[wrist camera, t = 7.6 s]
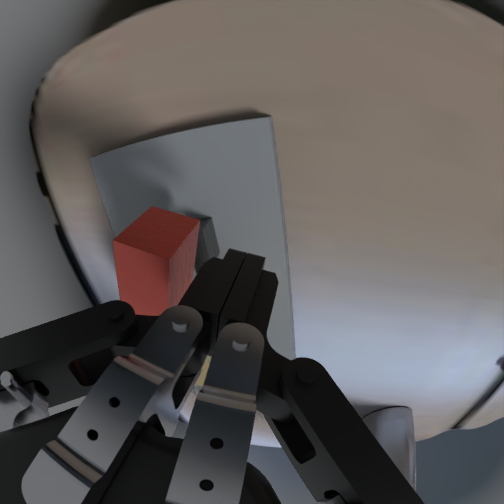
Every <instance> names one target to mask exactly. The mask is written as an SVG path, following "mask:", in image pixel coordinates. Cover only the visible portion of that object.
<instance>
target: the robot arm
mask: <svg viewBox="0 0 504 504" xmlns="http://www.w3.org/2000/svg"><path fill="white" fill-rule="evenodd" d="M265 260H266V257H263V256H259V255H255V254H251V253H248V254H247V252H243V251H239V250H235V249H231V248H229V249H228V251H227V253H226V254H225V256H224V258H223V259H220V258H216V257H213V258H211V259H209V260H208V261H206V262H205V263H204V264H203V265H202V267H201V268H200V270H199V272H198V273H197V275H196V276H195V278H194V280H193V281H192V283H191V284H190V286H189V287H188V289H187V291H186V292H185V294H184V295H183V297H182V299H181V300H180V302H179V303H178V305H177V306H172V307H170V308H168V309H166V310H165V311H163V313H162V314H161V315H158V316H150V315H137V314H135V311H134V309H133V307H132V306H131V305H130V304H129V303H127V302H124V301H120V300H114V301H109V302H106V303H103V304H100V305H97V306H94V307H91V308H88V309H85V310H83V311H80V312H77V313H74V314H71V315H68V316H65V317H62V318H59V319H56V320H53V321H50V322H47V323H44V324H41V325H39V326H36V327H32V328H29V329H26V330H23V331H20V332H18V333H15V334H12V335H9V336H6V337H3V338H0V504H281V502H280V500H279V499H278V497H277V495H276V493H275V492H274V490H273V488H272V486H271V484H270V483H269V481H268V480H267V479H266V477H265V476H264V475H263V474H262V473H261V472H260V471H259V470H258V469H257V468H255V467H254V466H253V465H252V464H250V463H249V462H247V459H248V454H249V448H250V443H251V437H252V431H253V426H254V420H255V414H256V410H258V411H260V412H262V413H263V414H264V417H265V419H266V421H267V422H268V424H269V426H270V428H271V429H272V431H273V433H274V435H275V436H276V438H277V440H278V441H279V443H280V445H281V446H282V448H283V450H284V451H285V453H286V455H287V456H288V458H289V460H290V461H291V463H292V464H293V466H294V468H295V469H296V471H297V472H298V474H299V476H300V477H301V479H302V480H303V482H304V483H305V485H306V486H307V488H308V489H309V491H310V492H311V494H312V495H313V497H314V498H315V500H316V501H317V503H315V504H424V503H423V501H422V500H421V498H420V497H419V496H418V494H417V493H416V455H415V436H414V423H413V414H412V410H411V409H409V408H406V407H394V408H388V409H383V410H379V411H376V412H374V413H371V414H369V415H367V416H366V417H364V418H363V419H361V418H360V416H359V415H358V414H357V412H356V411H355V409H354V408H353V407H352V405H351V404H350V403H349V401H348V400H347V398H346V397H345V396H344V394H343V393H342V392H341V390H340V389H339V387H338V386H337V385H336V383H335V382H334V381H333V379H332V378H331V376H330V375H329V374H328V372H327V371H326V369H325V368H324V367H323V366H322V365H321V364H320V363H318V362H317V361H315V360H313V359H310V358H302V357H301V358H296V359H293V360H289V359H288V358H286V357H284V356H282V355H280V354H279V353H277V352H276V351H275V350H274V349H273V348H272V347H271V345H270V344H269V342H268V339H267V329H268V325H269V321H270V317H271V313H272V309H273V305H274V301H275V297H276V292H277V288H278V284H279V282H278V279H277V276H276V273H274V272H270V271H266V270H263V269H264V265H265ZM207 355H208V356H211V357H212V358H211V361H210V364H209V368H208V371H207V374H206V377H205V381H204V384H203V387H202V389H201V390H200V391H199V392H198V395H197V397H196V400H195V403H194V407H193V410H192V413H191V416H190V420H189V423H188V426H187V430H186V433H185V436H184V439H180V438H173V437H171V435H172V434H173V432H174V430H175V427H176V425H177V421H178V417H179V414H180V411H181V409H182V407H183V406H184V404H185V402H186V400H187V398H188V396H189V394H190V393H191V391H192V389H193V387H194V385H195V383H196V381H197V379H198V378H199V376H200V374H201V371H202V366H203V364H204V362H205V359H206V357H207ZM85 395H87V396H86V397H85V398H84V400H83V401H82V402H81V404H80V405H79V406H77V407H73V408H71V409H68V410H65V411H63V412H60V413H57V414H54V415H52V416H49V412H48V408H50V407H53V406H56V405H59V404H62V403H65V402H68V401H71V400H74V399H77V398H80V397H82V396H85Z"/></svg>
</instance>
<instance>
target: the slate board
mask: <svg viewBox="0 0 504 504" xmlns="http://www.w3.org/2000/svg"><path fill="white" fill-rule="evenodd" d="M90 162H91V166H92V169H93V173H94V176H95V179H96V183H97V186H98V189H99V192H100V195H101V198H102V201H103V204H104V207H105V210H106V213H107V216H108V218H109V221H110V224H111V227H112V229H113V232H114V235H115V237H117V236H118V235H119V234H120V232H122V231H123V230H124V229H125V228H126V227H128V226H129V225H130V224H132V223H133V222H134V221H135V220H136V219H137V218H138V217H140V216H141V215H142V214H143V213H144V212H145V211H147V210H148V209H149V208H150V207H151V206H153V207H157V208H160V209H164V210H167V211H175V212H181V213H184V214H185V215H186V216H188V217H192V218H195V219H196V218H210V217H212V220H213V224H214V229H215V233H216V237H217V241H218V245H219V250H220V254H219V256H218V257H217V258H220V259H223V258H224V256H225V254H226V253H227V251H228V249H229V248H231V249H235V250H239V251H243V252H247V254H248V253H251V254H255V255H259V256H263V257H266V260H265V265H264V269H263V270H266V271H270V272H274V273H276V276H277V279H278V282H279V284H278V288H277V292H276V297H275V301H274V305H273V309H272V313H271V317H270V321H269V325H268V329H267V339H268V342H269V344H270V345H271V347H272V348H273V349H274V350H275V351H276V352H277V353H279V354H280V355H282V356H284V357H286V358H288V359H289V360H293V359H296V355H295V338H294V323H293V309H292V295H291V283H290V271H289V260H288V249H287V239H286V229H285V219H284V210H283V201H282V192H281V183H280V175H279V167H278V159H277V151H276V144H275V136H274V129H273V122H272V116H266V117H257V118H250V119H242V120H236V121H229V122H223V123H217V124H212V125H206V126H201V127H196V128H191V129H187V130H182V131H178V132H174V133H169V134H165V135H161V136H157V137H154V138H150V139H146V140H143V141H139V142H136V143H132V144H129V145H126V146H122V147H119V148H116V149H113V150H110V151H107V152H104V153H101V154H99V155H96V156H94V157H92V158H90ZM195 268H201V267H195Z"/></svg>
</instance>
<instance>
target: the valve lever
mask: <svg viewBox="0 0 504 504" xmlns="http://www.w3.org/2000/svg"><path fill="white" fill-rule="evenodd" d="M199 226H200V220H198V219H195V218H192V217H188V216H185V215H181V214H178V213H174V212H171V211H167V210H164V209H160V208H157V207H153V206H151V207H150V208H149V209H148V210H147V211H145V212H144V213H143V214H142V215H141V216H140V217H138V218H137V219H136V220H135V221H134V222H133V223H132V224H130V225H129V226H128V227H127V228H126V229H125V230H124V231H123V232H121V233H120V234H119V235H118V236H117V237H116V238H115V239H114V240H113V247H114V257H115V266H116V274H117V281H118V288H119V295H120V301H124V302H127V303H129V304H130V305H131V306H132V307H133V309H134V311H135V314H137V315H150V316H158V315H161V314H162V313H163V311H165V310H166V309H168V308H170V307H172V306H177V305H178V303H179V302H180V300H181V299H182V297H183V295H184V294H185V292H186V291H187V289H188V287H189V286H190V284H191V283H192V281H193V273H194V265H195V257H196V249H197V241H198V233H199Z"/></svg>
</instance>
